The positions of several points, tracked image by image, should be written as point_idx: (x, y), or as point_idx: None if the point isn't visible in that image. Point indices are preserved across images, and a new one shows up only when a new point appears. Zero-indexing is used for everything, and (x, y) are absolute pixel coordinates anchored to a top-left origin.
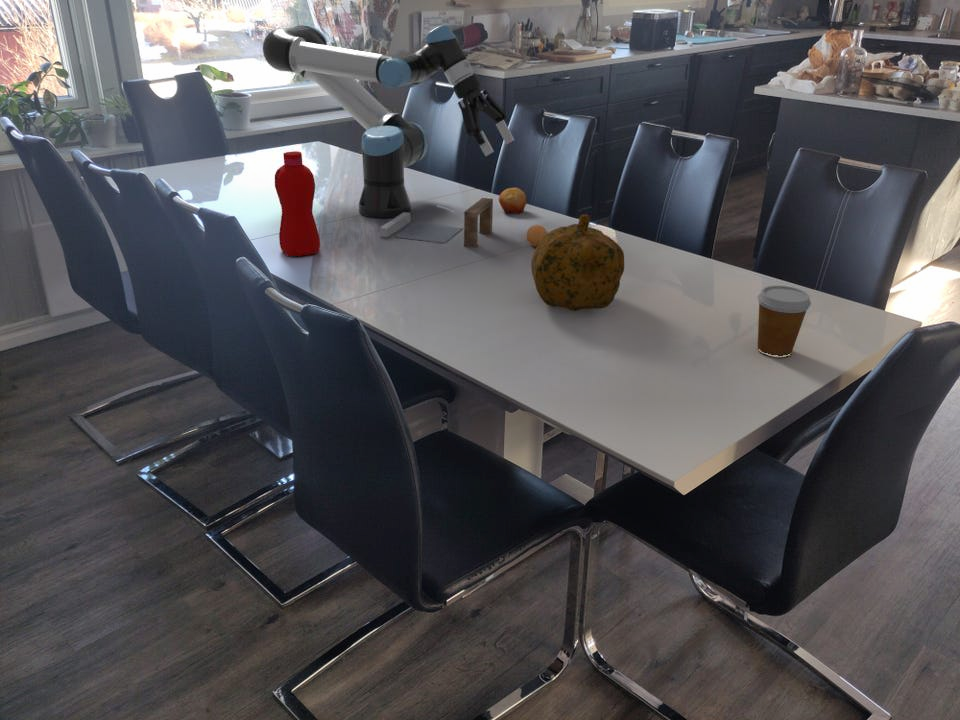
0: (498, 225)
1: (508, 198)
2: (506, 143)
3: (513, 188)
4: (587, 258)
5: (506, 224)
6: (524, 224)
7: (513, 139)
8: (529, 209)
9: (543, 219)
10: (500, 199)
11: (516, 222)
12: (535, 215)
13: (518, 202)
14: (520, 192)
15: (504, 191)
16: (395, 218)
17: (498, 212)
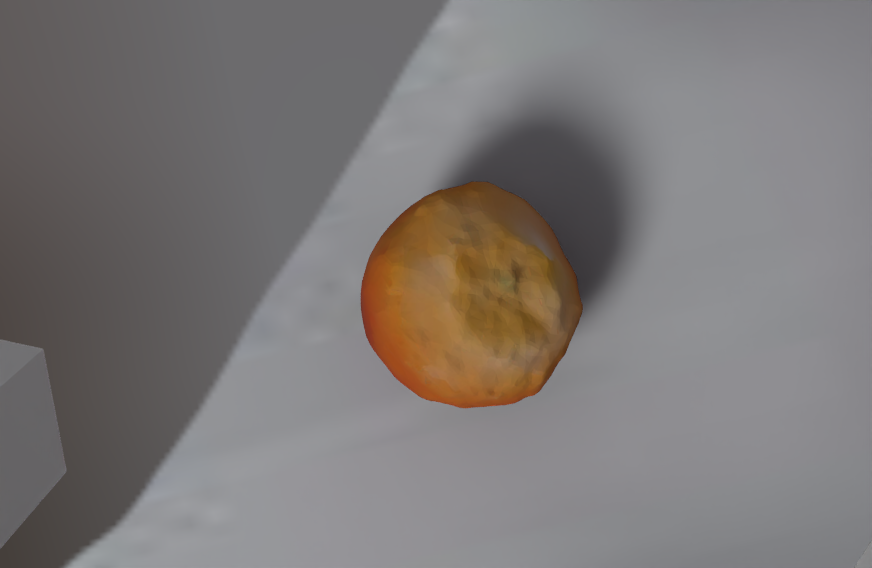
0: (853, 310)
1: (561, 308)
2: (55, 473)
3: (428, 295)
4: None
5: (805, 262)
6: (757, 141)
7: (17, 353)
8: (374, 201)
9: (586, 49)
10: (545, 380)
11: (728, 206)
12: (507, 125)
13: (547, 228)
14: (467, 223)
15: (481, 365)
16: None
17: None
